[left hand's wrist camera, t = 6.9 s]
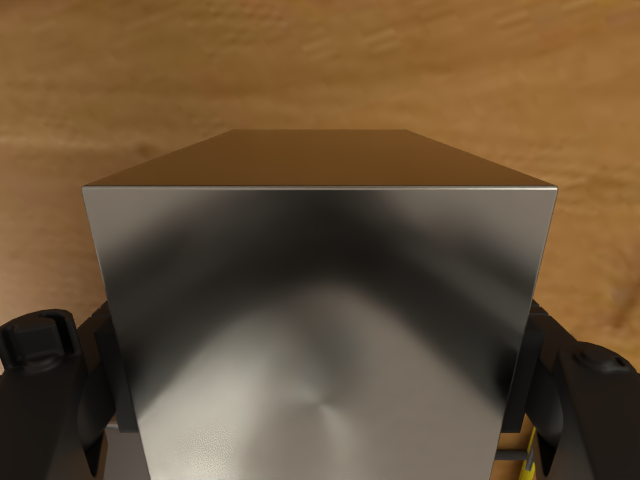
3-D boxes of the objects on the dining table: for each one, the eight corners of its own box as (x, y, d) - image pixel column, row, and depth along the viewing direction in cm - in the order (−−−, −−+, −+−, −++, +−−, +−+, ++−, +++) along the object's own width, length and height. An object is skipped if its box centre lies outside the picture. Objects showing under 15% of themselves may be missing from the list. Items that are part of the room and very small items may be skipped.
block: (407, 129, 16) (560, 185, 6) (392, 306, 19) (475, 544, 9) (232, 129, 16) (77, 186, 6) (247, 306, 19) (164, 544, 9)
